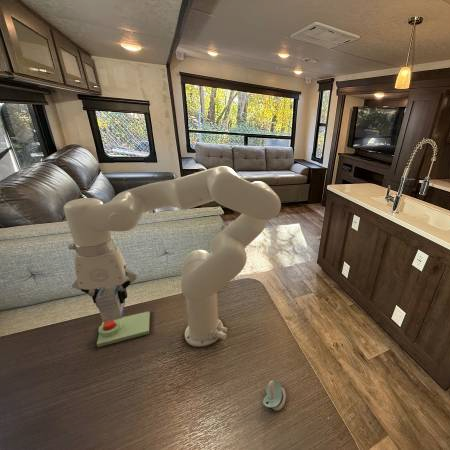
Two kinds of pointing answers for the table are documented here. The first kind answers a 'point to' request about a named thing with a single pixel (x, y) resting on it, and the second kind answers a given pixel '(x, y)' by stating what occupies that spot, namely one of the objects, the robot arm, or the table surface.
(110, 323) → the tare button
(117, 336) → the green button pad
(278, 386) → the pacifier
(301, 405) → the table surface
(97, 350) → the table surface
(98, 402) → the table surface
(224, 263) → the robot arm
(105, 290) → the medicine box
